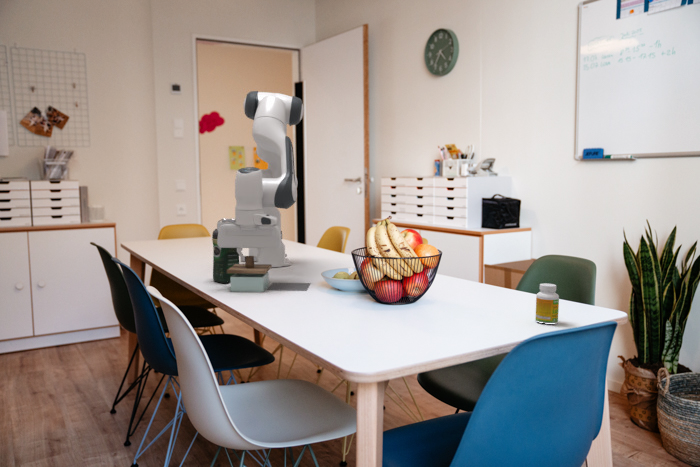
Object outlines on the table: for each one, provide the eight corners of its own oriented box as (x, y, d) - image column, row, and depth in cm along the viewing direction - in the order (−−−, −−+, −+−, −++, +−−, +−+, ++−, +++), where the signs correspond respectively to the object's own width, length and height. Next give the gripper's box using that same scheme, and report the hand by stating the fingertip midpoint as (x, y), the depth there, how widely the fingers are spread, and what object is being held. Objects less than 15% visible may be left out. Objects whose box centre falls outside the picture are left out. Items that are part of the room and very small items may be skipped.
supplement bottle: (555, 326, 141) (556, 287, 140) (533, 323, 144) (534, 285, 143) (559, 321, 146) (561, 284, 145) (538, 318, 149) (539, 282, 148)
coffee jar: (244, 282, 198) (243, 228, 196) (223, 284, 192) (222, 229, 190) (229, 278, 205) (228, 226, 203) (209, 280, 199) (208, 227, 197)
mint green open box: (237, 286, 189) (237, 271, 189) (268, 286, 189) (268, 271, 189) (230, 292, 179) (230, 277, 179) (263, 293, 179) (262, 277, 178)
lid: (235, 267, 190) (235, 253, 189) (271, 267, 189) (271, 253, 189) (226, 273, 178) (226, 258, 177) (265, 273, 177) (265, 259, 177)
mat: (272, 283, 195) (272, 282, 194) (310, 284, 194) (310, 283, 194) (265, 291, 182) (265, 290, 182) (306, 292, 181) (306, 290, 181)
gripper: (214, 219, 179) (215, 263, 181) (279, 219, 179) (279, 263, 180) (219, 217, 185) (220, 260, 187) (282, 218, 185) (282, 260, 186)
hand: (249, 261), depth 183 cm, fingers open, 3 cm apart
